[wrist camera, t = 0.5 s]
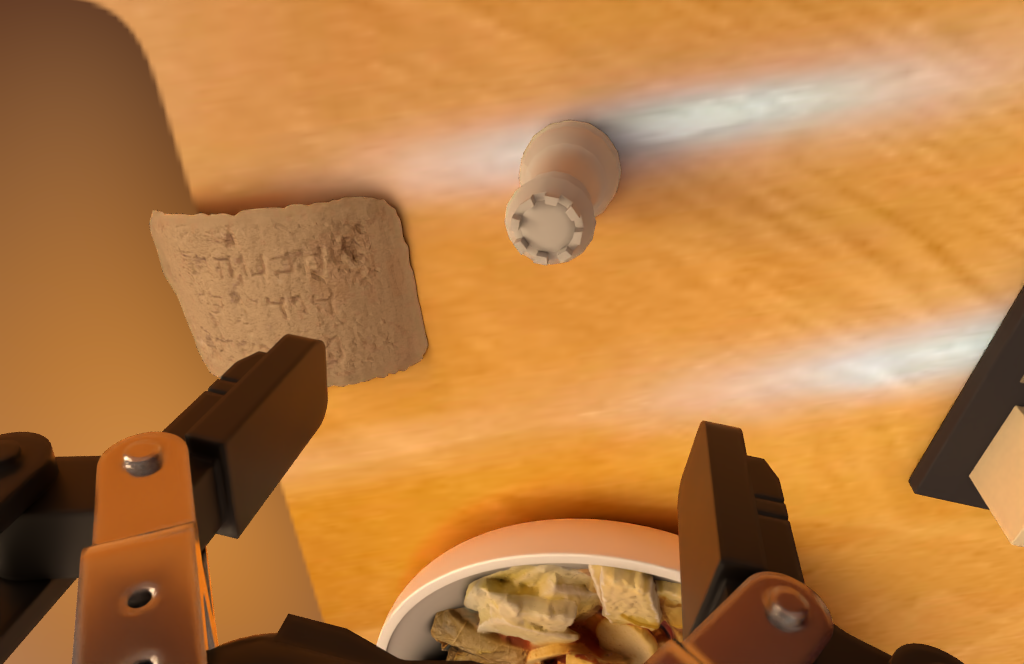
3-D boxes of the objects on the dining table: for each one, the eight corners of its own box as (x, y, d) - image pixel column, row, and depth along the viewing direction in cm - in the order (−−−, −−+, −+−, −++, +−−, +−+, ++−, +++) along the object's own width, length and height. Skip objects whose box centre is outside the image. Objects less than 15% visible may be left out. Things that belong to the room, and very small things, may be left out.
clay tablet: (208, 366, 39) (180, 392, 37) (141, 205, 34) (104, 222, 32) (434, 362, 36) (419, 390, 33) (394, 183, 31) (373, 200, 29)
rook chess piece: (509, 194, 30) (466, 262, 23) (542, 101, 28) (506, 145, 21) (597, 231, 30) (581, 308, 23) (638, 140, 28) (633, 197, 21)
